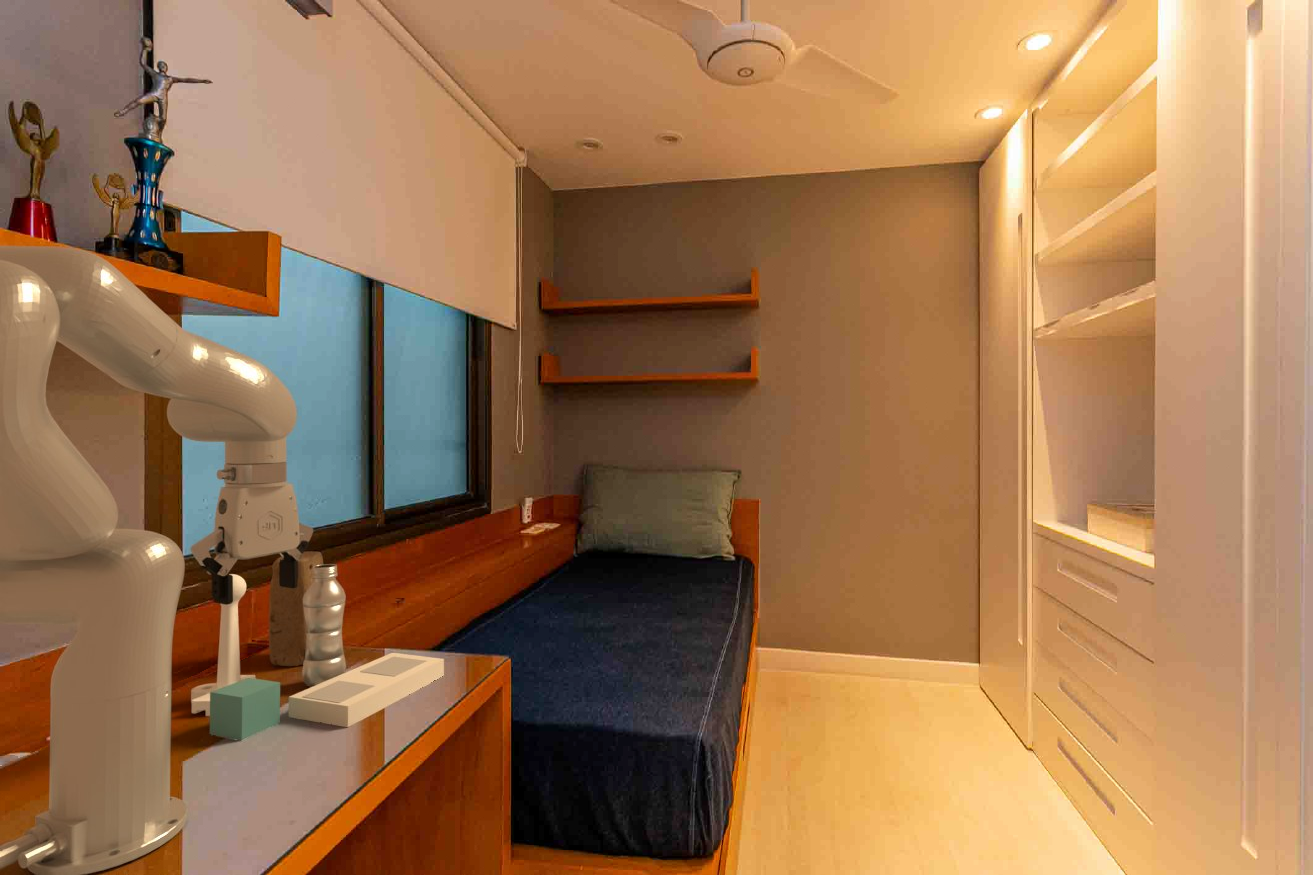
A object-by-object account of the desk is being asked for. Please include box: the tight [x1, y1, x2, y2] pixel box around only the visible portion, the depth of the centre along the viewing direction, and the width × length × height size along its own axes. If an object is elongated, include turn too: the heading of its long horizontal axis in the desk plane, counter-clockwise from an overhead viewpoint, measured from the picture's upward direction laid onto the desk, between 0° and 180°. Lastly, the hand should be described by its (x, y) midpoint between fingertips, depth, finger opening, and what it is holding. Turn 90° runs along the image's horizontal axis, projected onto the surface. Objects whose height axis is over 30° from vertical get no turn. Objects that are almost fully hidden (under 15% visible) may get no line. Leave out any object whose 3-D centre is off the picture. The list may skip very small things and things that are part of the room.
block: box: [268, 550, 324, 667], centre depth 123 cm, size 11×8×20 cm
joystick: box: [190, 573, 256, 717], centre depth 103 cm, size 11×8×20 cm
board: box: [288, 652, 445, 728], centre depth 106 cm, size 22×11×3 cm, turn 162°
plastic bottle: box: [301, 563, 347, 688], centre depth 110 cm, size 6×7×20 cm
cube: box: [209, 678, 281, 741], centre depth 93 cm, size 6×6×6 cm
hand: (257, 594), depth 94 cm, fingers open, 9 cm apart
